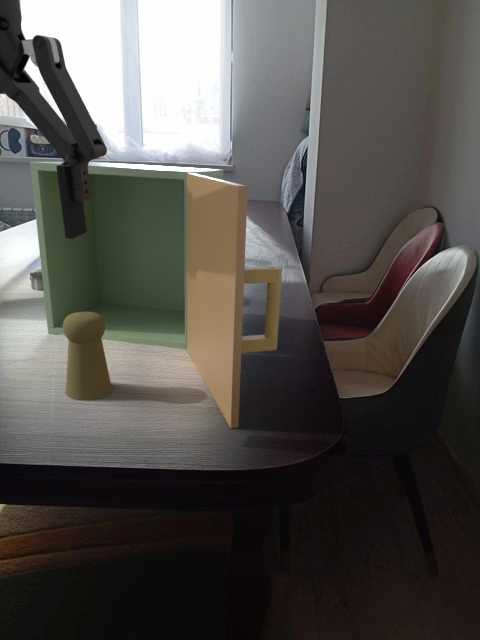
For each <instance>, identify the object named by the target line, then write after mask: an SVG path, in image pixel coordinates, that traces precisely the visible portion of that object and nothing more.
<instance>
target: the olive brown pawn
mask: <svg viewBox="0 0 480 640" xmlns="http://www.w3.org/2000/svg"><path fill="white" fill-rule="evenodd" d="M63 332H64V335H63V336H64V337H66V339H68V345H67V363H66V366H67V367H66V379H65V396H66V397H67V398H69V399H71V400H76V401H82V402H83V401H95V400H98V399H99V400H100V399H102V398H104V397H107V396H108V395H110V394H111V392H112V391H113V387H112V383H111V377H110V372H109V368H108V362H107V358H106V354H105V353H106V352H105V349H104V344H103V339H102V336H103V335H104V332H105V322H104V319H103V318H102V317H101V316H100V315H99V314H97V313H94V312H76V313H72V314H70V315H68V316H67V317H66V318H65V319H64V322H63Z"/></svg>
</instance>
